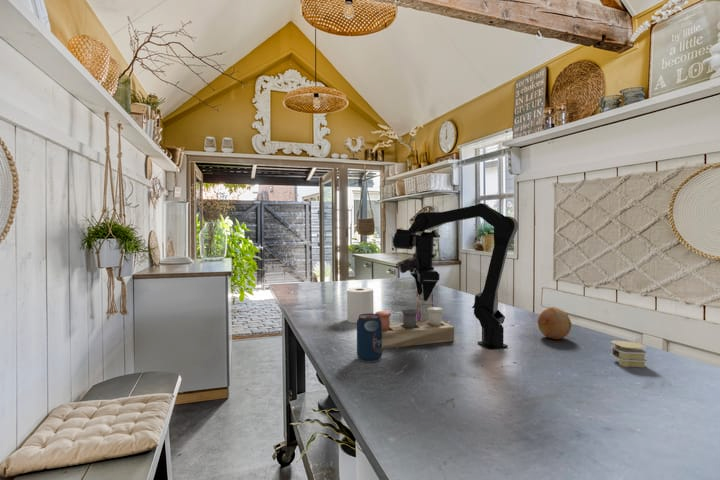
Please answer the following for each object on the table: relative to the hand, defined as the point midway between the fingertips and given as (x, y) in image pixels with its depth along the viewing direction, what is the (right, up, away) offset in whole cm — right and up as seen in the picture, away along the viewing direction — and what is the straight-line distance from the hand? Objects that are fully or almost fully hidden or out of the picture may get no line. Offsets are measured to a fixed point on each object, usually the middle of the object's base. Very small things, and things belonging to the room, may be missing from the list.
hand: (422, 297), depth 129 cm
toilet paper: (-21, -12, +22) cm, 32 cm away
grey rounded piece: (-5, -10, -5) cm, 12 cm away
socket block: (-5, -13, -5) cm, 15 cm away
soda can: (-18, -14, -21) cm, 31 cm away
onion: (+42, -13, -4) cm, 44 cm away
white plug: (+4, -9, -2) cm, 10 cm away
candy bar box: (+3, -12, +13) cm, 18 cm away
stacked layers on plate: (+50, -14, -27) cm, 58 cm away
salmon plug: (-13, -10, -7) cm, 18 cm away
